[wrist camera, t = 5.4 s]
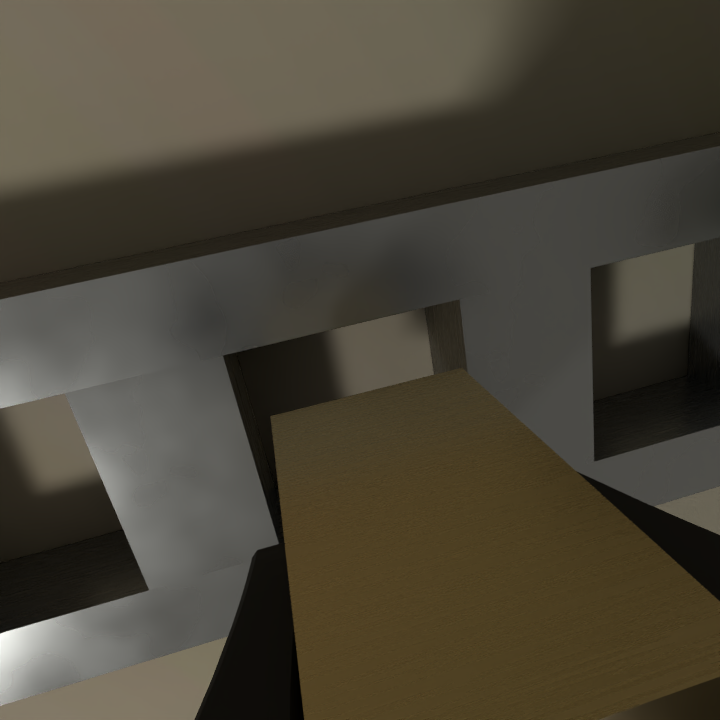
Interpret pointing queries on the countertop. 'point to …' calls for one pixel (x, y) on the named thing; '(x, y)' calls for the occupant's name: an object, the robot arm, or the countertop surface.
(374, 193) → the countertop surface
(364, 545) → the brass peg
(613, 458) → the rail
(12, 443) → the countertop surface
